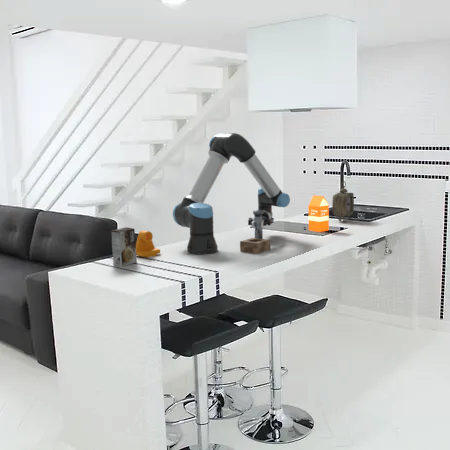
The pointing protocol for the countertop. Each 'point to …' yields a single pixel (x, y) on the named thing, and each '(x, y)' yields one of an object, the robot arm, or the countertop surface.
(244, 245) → the socket block
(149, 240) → the bracket
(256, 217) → the steel pin
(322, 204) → the orange juice
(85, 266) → the countertop surface
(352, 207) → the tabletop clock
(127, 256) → the coffee box
